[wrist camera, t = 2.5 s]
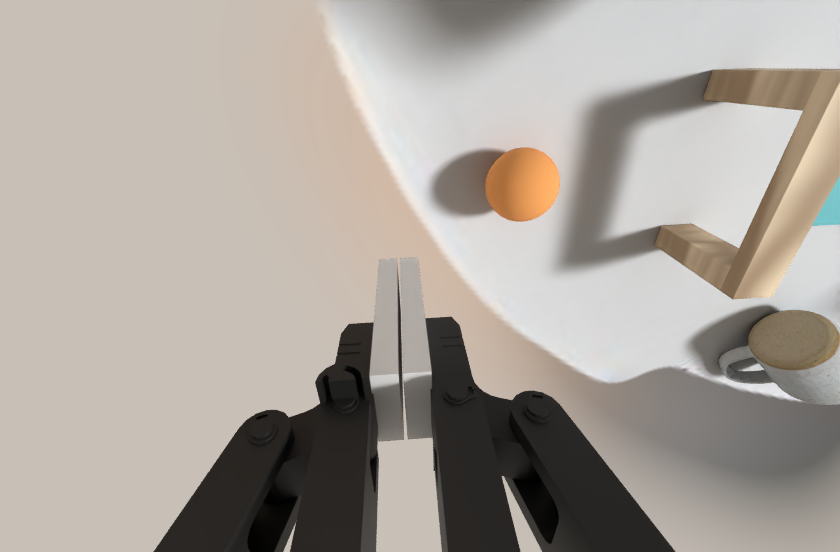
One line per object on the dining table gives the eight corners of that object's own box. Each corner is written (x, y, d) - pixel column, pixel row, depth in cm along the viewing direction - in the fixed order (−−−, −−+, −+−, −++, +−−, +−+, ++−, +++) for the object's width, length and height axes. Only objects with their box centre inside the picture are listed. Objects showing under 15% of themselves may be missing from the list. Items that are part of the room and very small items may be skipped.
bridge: (654, 245, 34) (732, 299, 26) (712, 69, 27) (844, 71, 19) (685, 243, 34) (772, 296, 26) (751, 68, 27) (898, 69, 19)
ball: (480, 143, 29) (497, 158, 24) (548, 139, 29) (579, 154, 24) (477, 209, 31) (491, 234, 27) (539, 205, 32) (564, 230, 27)
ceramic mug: (790, 292, 38) (871, 340, 32) (820, 327, 41) (900, 379, 35) (699, 352, 42) (754, 406, 36) (732, 381, 45) (789, 436, 39)
